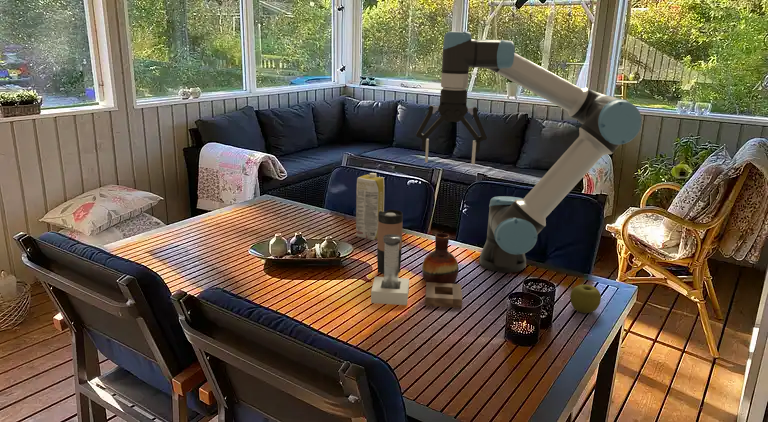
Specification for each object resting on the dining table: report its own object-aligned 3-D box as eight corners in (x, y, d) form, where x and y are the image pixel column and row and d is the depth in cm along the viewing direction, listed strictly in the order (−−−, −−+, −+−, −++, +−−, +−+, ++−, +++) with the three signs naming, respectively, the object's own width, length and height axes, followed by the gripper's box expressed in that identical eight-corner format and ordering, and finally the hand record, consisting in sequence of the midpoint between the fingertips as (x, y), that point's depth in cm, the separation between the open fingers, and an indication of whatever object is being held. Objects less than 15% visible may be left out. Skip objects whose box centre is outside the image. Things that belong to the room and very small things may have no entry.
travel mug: (398, 279, 174) (400, 217, 168) (374, 276, 175) (375, 215, 169) (402, 269, 181) (404, 210, 175) (379, 267, 182) (380, 208, 176)
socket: (408, 292, 165) (409, 278, 163) (406, 308, 155) (407, 293, 154) (374, 290, 165) (375, 276, 164) (370, 306, 156) (371, 291, 154)
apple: (595, 320, 151) (599, 296, 149) (565, 312, 155) (568, 288, 153) (601, 309, 157) (605, 286, 155) (572, 302, 161) (575, 279, 159)
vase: (433, 293, 165) (436, 243, 160) (414, 279, 174) (416, 232, 170) (464, 286, 170) (468, 238, 165) (444, 273, 179) (447, 227, 175)
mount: (460, 295, 164) (460, 284, 163) (461, 311, 154) (462, 299, 153) (425, 293, 165) (426, 282, 164) (425, 308, 155) (425, 297, 154)
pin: (399, 291, 162) (401, 234, 157) (398, 298, 157) (400, 240, 152) (382, 290, 162) (384, 233, 157) (381, 297, 158) (382, 239, 153)
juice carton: (385, 236, 211) (387, 173, 204) (374, 242, 205) (375, 178, 197) (365, 231, 216) (366, 170, 209) (353, 236, 209) (353, 174, 202)
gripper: (497, 89, 161) (491, 161, 167) (410, 86, 163) (407, 158, 169) (500, 91, 154) (493, 167, 160) (409, 88, 156) (406, 163, 162)
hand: (449, 162), depth 165 cm, fingers open, 13 cm apart
